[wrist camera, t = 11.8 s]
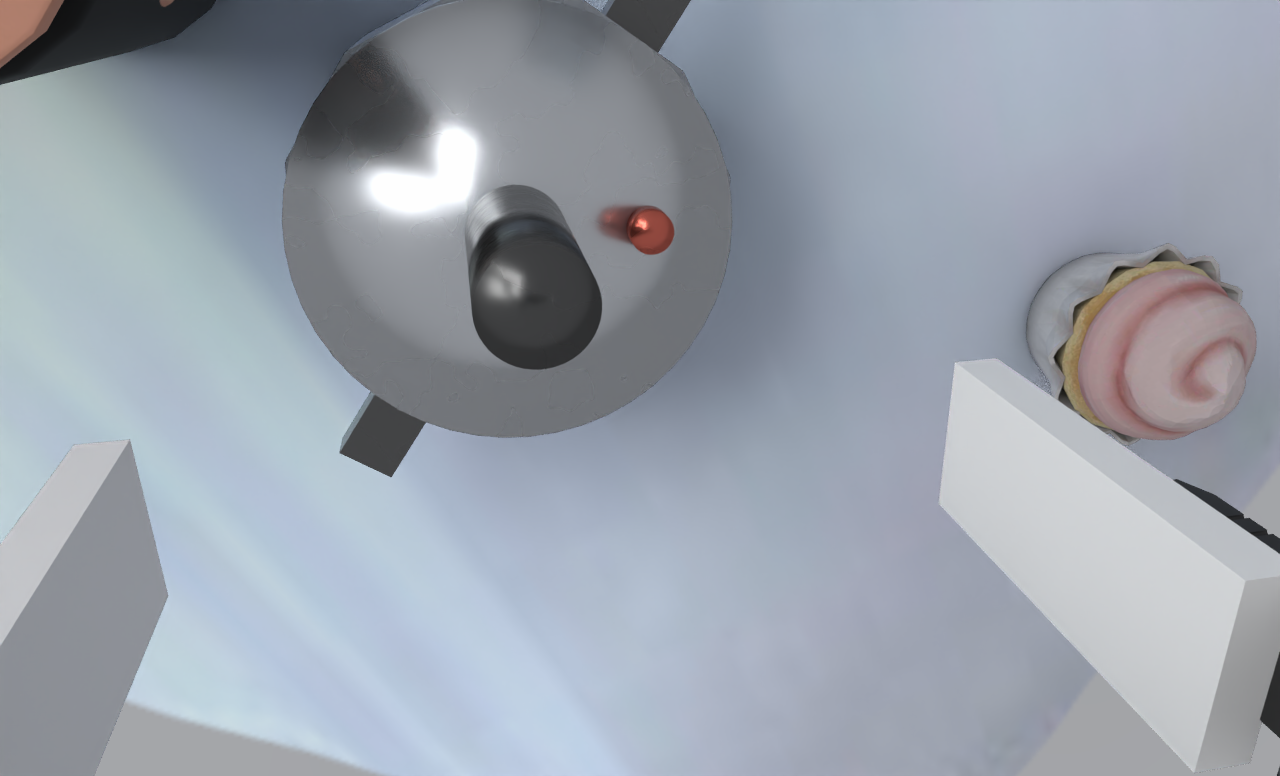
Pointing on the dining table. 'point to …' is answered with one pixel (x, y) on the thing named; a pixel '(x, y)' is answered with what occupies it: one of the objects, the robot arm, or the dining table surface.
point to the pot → (379, 430)
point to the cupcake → (1142, 342)
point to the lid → (507, 217)
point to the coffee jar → (84, 31)
